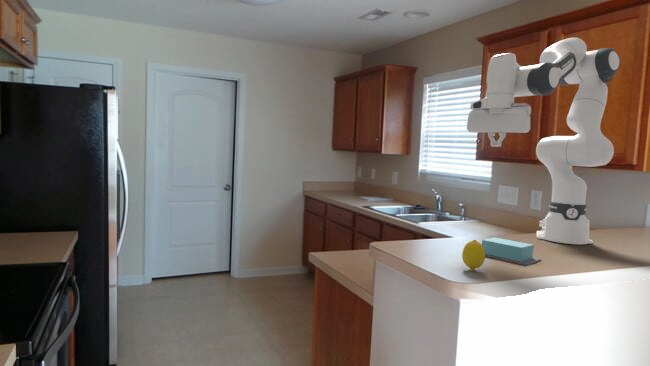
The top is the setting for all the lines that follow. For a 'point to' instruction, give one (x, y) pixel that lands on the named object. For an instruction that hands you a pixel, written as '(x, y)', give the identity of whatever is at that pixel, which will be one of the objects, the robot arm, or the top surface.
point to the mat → (525, 262)
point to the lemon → (473, 254)
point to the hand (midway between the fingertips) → (495, 146)
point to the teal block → (508, 249)
